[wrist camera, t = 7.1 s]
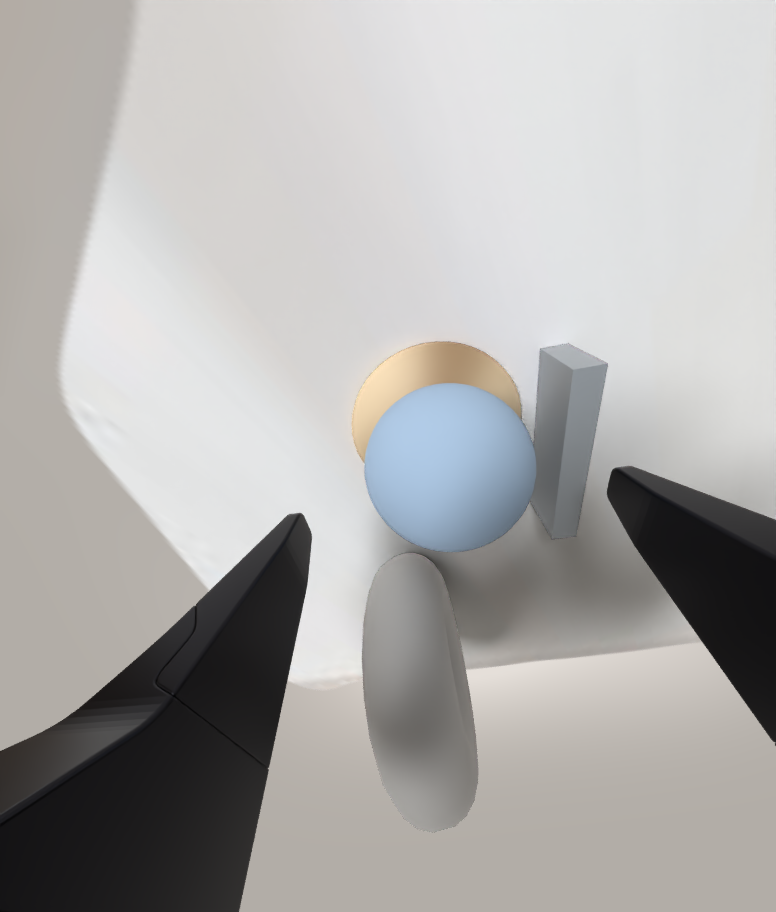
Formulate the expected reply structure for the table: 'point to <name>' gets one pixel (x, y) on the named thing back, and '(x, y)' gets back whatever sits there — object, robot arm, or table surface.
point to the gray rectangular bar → (565, 434)
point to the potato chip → (426, 381)
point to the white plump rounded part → (418, 695)
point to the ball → (450, 467)
